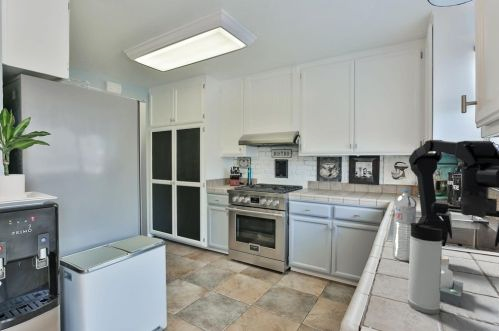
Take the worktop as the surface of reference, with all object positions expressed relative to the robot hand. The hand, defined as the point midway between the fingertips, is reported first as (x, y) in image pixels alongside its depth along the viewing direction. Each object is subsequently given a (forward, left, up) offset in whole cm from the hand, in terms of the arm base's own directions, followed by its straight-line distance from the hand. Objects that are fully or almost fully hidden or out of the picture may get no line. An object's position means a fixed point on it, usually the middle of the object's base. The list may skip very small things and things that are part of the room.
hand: (472, 242), depth 71 cm
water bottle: (-13, -19, -13) cm, 26 cm away
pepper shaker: (+8, -6, -13) cm, 17 cm away
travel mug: (+21, -8, -13) cm, 26 cm away
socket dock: (+9, -6, -13) cm, 17 cm away
